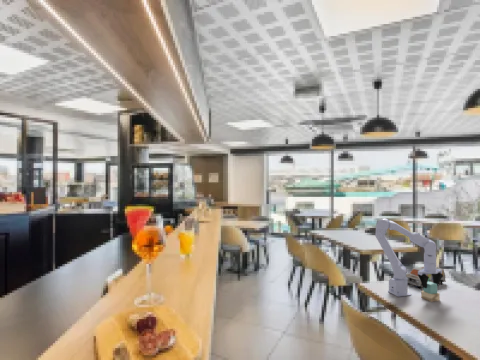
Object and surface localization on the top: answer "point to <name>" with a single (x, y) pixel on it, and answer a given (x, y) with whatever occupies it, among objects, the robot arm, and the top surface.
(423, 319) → the top surface
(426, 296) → the beech block
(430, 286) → the teal block
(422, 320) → the top surface
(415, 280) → the toy car
